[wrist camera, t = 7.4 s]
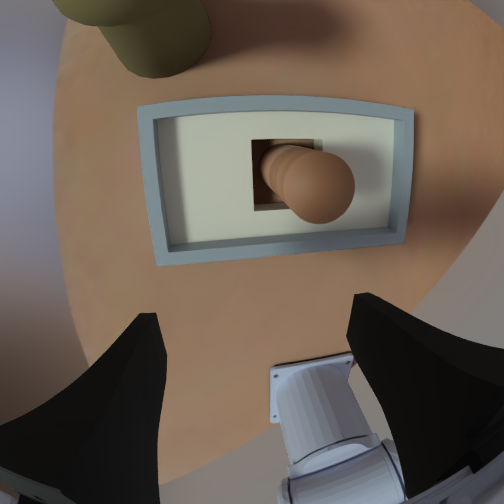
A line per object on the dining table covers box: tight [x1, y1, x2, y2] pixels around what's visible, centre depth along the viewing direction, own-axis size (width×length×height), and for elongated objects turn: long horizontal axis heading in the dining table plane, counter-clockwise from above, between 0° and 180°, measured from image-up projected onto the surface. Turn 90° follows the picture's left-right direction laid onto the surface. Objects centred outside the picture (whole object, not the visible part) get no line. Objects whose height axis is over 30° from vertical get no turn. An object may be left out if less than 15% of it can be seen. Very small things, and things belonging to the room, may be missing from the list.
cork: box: [52, 0, 212, 79], centre depth 8 cm, size 6×6×11 cm
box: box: [137, 95, 414, 266], centre depth 16 cm, size 9×16×3 cm, turn 92°
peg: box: [259, 144, 355, 224], centre depth 14 cm, size 3×3×7 cm
